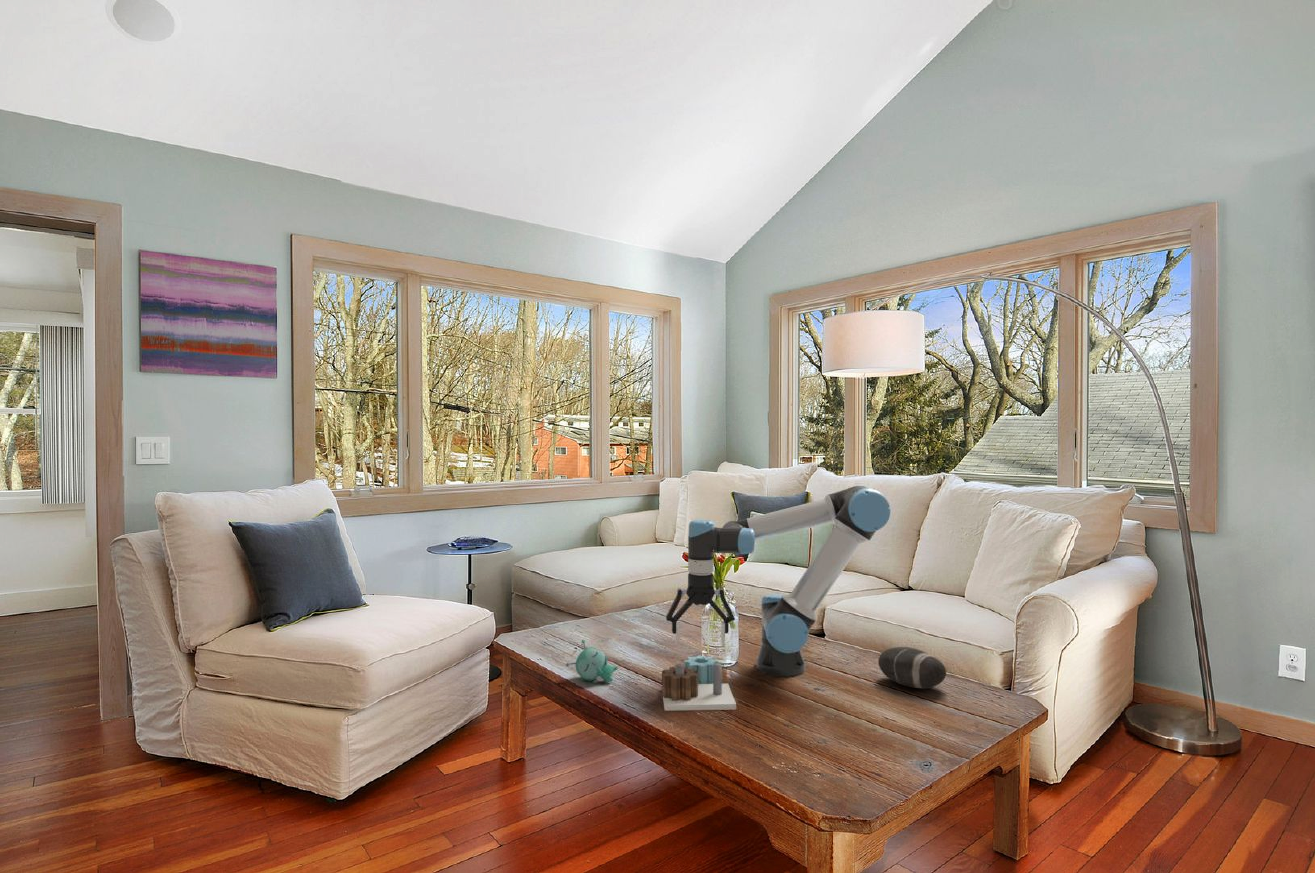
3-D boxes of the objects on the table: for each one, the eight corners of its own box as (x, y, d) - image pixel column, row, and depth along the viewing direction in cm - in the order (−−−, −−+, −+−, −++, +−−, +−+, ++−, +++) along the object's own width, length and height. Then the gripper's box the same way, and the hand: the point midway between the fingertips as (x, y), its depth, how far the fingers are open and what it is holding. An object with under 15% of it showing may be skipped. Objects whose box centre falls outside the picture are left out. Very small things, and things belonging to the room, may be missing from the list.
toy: (613, 679, 198) (566, 655, 199) (603, 698, 204) (558, 674, 205) (625, 653, 206) (580, 630, 207) (615, 671, 212) (572, 649, 213)
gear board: (728, 688, 198) (727, 655, 198) (736, 709, 183) (735, 673, 183) (662, 689, 197) (661, 656, 197) (664, 710, 182) (664, 675, 182)
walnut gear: (687, 685, 197) (687, 664, 197) (704, 697, 188) (704, 675, 187) (655, 690, 192) (655, 669, 192) (671, 703, 183) (671, 681, 183)
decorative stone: (955, 687, 198) (955, 653, 198) (928, 699, 189) (928, 663, 189) (895, 669, 213) (895, 637, 213) (868, 680, 204) (868, 646, 204)
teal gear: (716, 674, 209) (715, 655, 209) (720, 686, 199) (720, 666, 199) (683, 675, 209) (683, 655, 209) (685, 687, 199) (685, 666, 199)
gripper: (740, 570, 208) (739, 640, 208) (658, 570, 207) (657, 640, 207) (744, 575, 201) (743, 647, 201) (659, 575, 200) (658, 648, 200)
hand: (700, 644), depth 204 cm, fingers open, 13 cm apart
